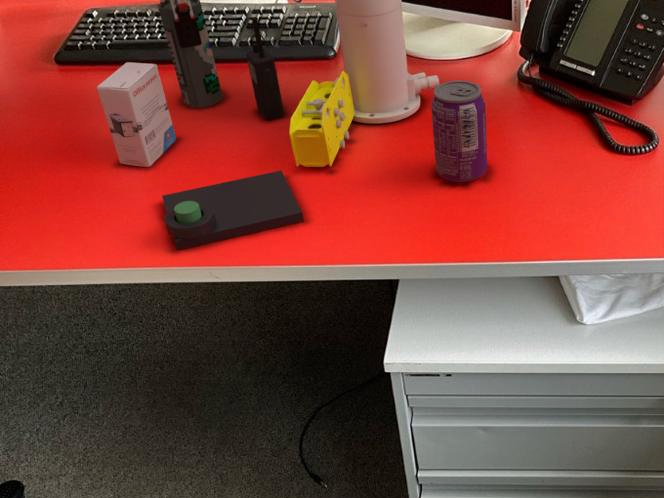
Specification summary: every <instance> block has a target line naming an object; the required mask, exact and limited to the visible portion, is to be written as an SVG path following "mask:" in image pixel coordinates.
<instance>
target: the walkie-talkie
mask: <svg viewBox="0 0 664 498" xmlns="http://www.w3.org/2000/svg"><path fill="white" fill-rule="evenodd" d="M251 23H252V27H253V32H254V37H255V43H252V44H251V47H252V50H249V51H247V53H246V54H245V57H246V60H247V66H248V70H249V76H250V79H251V85H252V89H253V94H254V99H255V104H256V108H257V112H258V113H259V114H260V115H261V116H262V117H263V119H265V121H273V120H275V119H280V118H284V116H285V110H284V109H285V108H284V103H283V99H282V93H281V88H280V83H279V78H278V71H277V66H276V62H275V57H274V56H273V55H272V54H270V52H269V51H268V50H267V49H265V48H264V45H263V40H262V35H261V30H260V26H259V19H258V18H257V17H256V16H255V17H252V18H251Z"/></svg>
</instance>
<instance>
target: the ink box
mask: <svg viewBox="0 0 664 498" xmlns="http://www.w3.org/2000/svg"><path fill="white" fill-rule="evenodd" d="M96 91H97V92H98V96H99V99H100V103H101V105H102V109H103V113H104V116H105V119H106V121H107V125H108V128H109V132H110V135H111V139H112V141H113V144H114V147H115V151H116V154H117V157H118V161H119V164H121V165H127V166H134V167H143V168H149V167H151V166H153V164H155V162H156V161H157V160H158V159H159V158H160V157H161V156H162V155H163V154H164V153H166V151H168V149H169V148H171V146H173V144H174V143H175V142H176V141H177V135H176V133H175V129H174V124H173V121H172V117H171V114H170V110H169V106H168V102H167V97H166V94H165V91H164V87H163V83H162V79H161V76H160V73H159V69H158V65H157V64H156V63H145V62H143V63H142V62H131V61H129V62H128V61H127V62H125V63H124V64H123V65H121V66H120V67H119V68H118V69H116V70H115V71H114V72H113V73H112V74H111V75H109V76H108V77H106V79H104V80H103V81H102V82H100V84H98V85H97V86H96Z"/></svg>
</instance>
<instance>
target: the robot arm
mask: <svg viewBox="0 0 664 498" xmlns="http://www.w3.org/2000/svg"><path fill="white" fill-rule="evenodd" d="M169 1H170V4H171V7H172V11H173V14H174V18H175V20H173V22H174V25H175V29H176V33H177V37H178V41H179V45H180V47H181V48H187V47H193V46H199V45H201V44H202V41H201V37H200V33H199V29H198V25H197V21H196V17H194V14H193V10H192V7H191V3H190V0H169ZM159 2H165V0H159ZM175 3H177V5H178V6H176V7H175ZM334 3H335V14H336V20H337V27H338V34H339V40H340V41H339V42H340V48H341V56H342V63H343V69H344V70H343V71H344V72H345V73H346V74H347V75H348V77H349V83H350V88H351V94H352V99H353V106H354V112H355V114H354V117H353V119H352V121H353V122H357V123H361V124H372V125H373V124H375V125H381V124H388V123H395V122H398V121H401V120H403V119H406V118H408V117H410V116H412V115H413V114H415V113H417V111H418V110H419V109H420V107H421V96H420V94H421V92H422V91H425V90H428V91H429V90H434V89H435V88H436V87H437V86H438V85H440V78H439V76H438V75H437V74H433V75H428V76H427V75H426V73H425V72H424V71H423V72H418V73H415V74H411V73H409V71H408V60H407V48H406V37H405V27H404V26H405V25H404V16H403V7H402V3H403V2H402V0H334Z"/></svg>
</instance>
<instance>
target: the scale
mask: <svg viewBox="0 0 664 498" xmlns="http://www.w3.org/2000/svg"><path fill="white" fill-rule="evenodd" d="M161 198H162V200H163V204H164V208H165V212H166V214H165V216H164V217H163V219H164V225H165V228H166V230H167V233H168V235H169V236H170V237H173V241H174V244H175V247H176V251H181V250H184V249H189V248H193V247H197V246H202V245H207V244H210V243H215V242H220V241H223V240H229V239H233V238H237V237H240V236H241V237H242V236H245V235H246V236H247V235H249V234H254V233H259V232H263V231H266V230H272V229H275V228H280V227H285V226H289V225H293V224H297V223H301V222H304V221H305V219H304V214H303V211H302V209H301V207H300V204H299V202H298V201H297V198H296V196H295V194H294V192H293V190H292V189H291V186H290V184H289V182H288V180H287V178H286V177H285V174H284V172H283V170H281V169H280V170H275V171H271V172H267V173H261V174H257V175H253V176H248V177H247V176H246V177H243V178H238V179H234V180H229V181H225V182H220V183H215V184H211V185H206V186H201V187H196V188H192V189H188V190H182V191H177V192H172V193H168V194H167V193H166V194H162V195H161ZM185 201H194V202H197V203H198V204H199V207H200V210H201V214H202V218H201V219H199V220H197V221H195V222H191V223H179V222H178V221H177V218H176V215H175V211H174V208H175V206H176V205H177V204H179V203H181V202H185Z"/></svg>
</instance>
